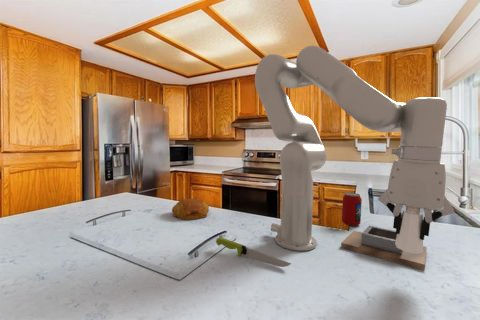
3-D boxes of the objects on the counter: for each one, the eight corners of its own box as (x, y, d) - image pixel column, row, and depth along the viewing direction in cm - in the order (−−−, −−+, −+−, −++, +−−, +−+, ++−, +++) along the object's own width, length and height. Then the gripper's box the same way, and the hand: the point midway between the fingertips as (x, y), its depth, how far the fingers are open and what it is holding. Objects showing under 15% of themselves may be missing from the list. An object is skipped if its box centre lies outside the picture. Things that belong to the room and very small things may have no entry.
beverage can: (362, 227, 91) (364, 196, 90) (343, 226, 92) (345, 195, 92) (357, 222, 98) (359, 192, 97) (340, 220, 99) (341, 191, 98)
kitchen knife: (291, 273, 59) (292, 262, 59) (289, 275, 58) (290, 264, 58) (217, 246, 70) (218, 236, 70) (215, 247, 69) (216, 237, 69)
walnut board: (341, 247, 73) (341, 242, 72) (353, 234, 83) (353, 230, 83) (424, 270, 60) (424, 264, 60) (426, 251, 71) (426, 246, 71)
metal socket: (361, 245, 71) (361, 233, 71) (368, 235, 78) (369, 225, 78) (401, 255, 65) (402, 242, 64) (405, 244, 72) (405, 232, 72)
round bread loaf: (173, 216, 107) (170, 199, 107) (207, 209, 112) (205, 193, 111) (173, 226, 93) (171, 206, 93) (213, 218, 98) (210, 199, 97)
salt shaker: (429, 254, 52) (435, 205, 52) (404, 253, 53) (409, 204, 52) (412, 243, 58) (417, 199, 57) (389, 242, 58) (394, 197, 57)
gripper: (373, 152, 56) (366, 229, 57) (472, 159, 45) (460, 252, 47) (379, 152, 62) (372, 222, 63) (468, 158, 51) (457, 241, 53)
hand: (410, 234), depth 55 cm, fingers closed on salt shaker, 3 cm apart
